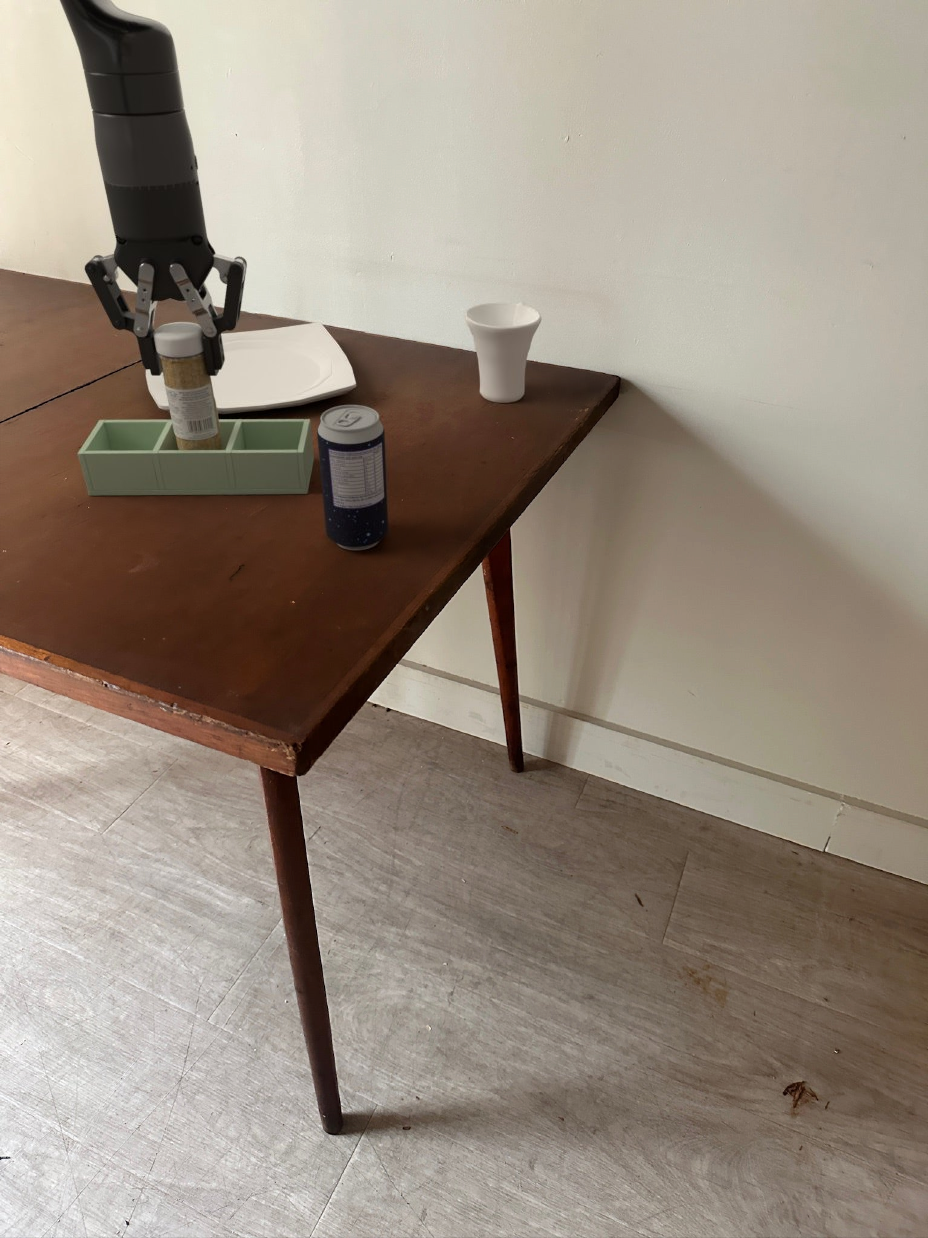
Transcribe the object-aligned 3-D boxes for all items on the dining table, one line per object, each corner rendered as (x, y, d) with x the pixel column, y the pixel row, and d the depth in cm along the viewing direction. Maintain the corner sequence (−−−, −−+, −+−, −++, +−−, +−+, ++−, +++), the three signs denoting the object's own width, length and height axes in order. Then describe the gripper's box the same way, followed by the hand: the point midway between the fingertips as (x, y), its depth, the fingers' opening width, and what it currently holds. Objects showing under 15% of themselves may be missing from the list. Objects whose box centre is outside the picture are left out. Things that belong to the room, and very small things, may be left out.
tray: (89, 495, 85) (77, 453, 82) (109, 460, 91) (99, 419, 88) (307, 494, 86) (303, 452, 83) (314, 459, 92) (310, 418, 89)
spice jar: (225, 449, 89) (204, 318, 81) (225, 469, 86) (203, 335, 78) (179, 452, 88) (153, 321, 80) (177, 473, 85) (150, 338, 77)
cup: (550, 390, 108) (557, 309, 101) (509, 415, 102) (513, 330, 95) (492, 372, 112) (495, 293, 105) (448, 395, 106) (449, 313, 99)
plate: (328, 337, 120) (326, 318, 119) (369, 408, 102) (368, 387, 100) (144, 355, 114) (140, 334, 112) (153, 434, 96) (148, 411, 94)
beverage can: (399, 530, 81) (395, 410, 73) (369, 561, 77) (362, 437, 69) (347, 516, 83) (338, 397, 75) (314, 545, 79) (302, 422, 71)
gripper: (46, 180, 68) (97, 388, 78) (230, 182, 68) (257, 388, 79) (75, 162, 74) (119, 358, 84) (244, 164, 74) (268, 358, 85)
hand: (186, 371), depth 81 cm, fingers closed on spice jar, 4 cm apart
